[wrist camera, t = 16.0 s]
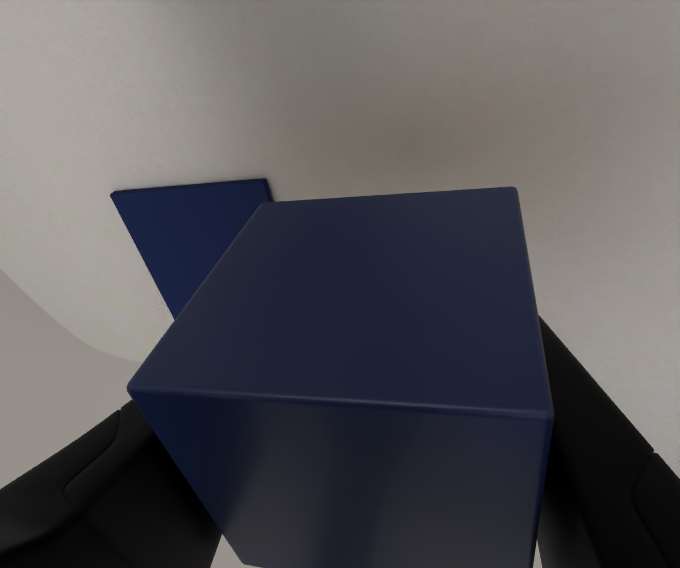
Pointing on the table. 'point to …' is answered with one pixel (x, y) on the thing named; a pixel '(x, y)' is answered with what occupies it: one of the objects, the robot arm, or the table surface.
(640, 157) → the table surface
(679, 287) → the table surface
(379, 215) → the blue block
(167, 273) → the blue mat
